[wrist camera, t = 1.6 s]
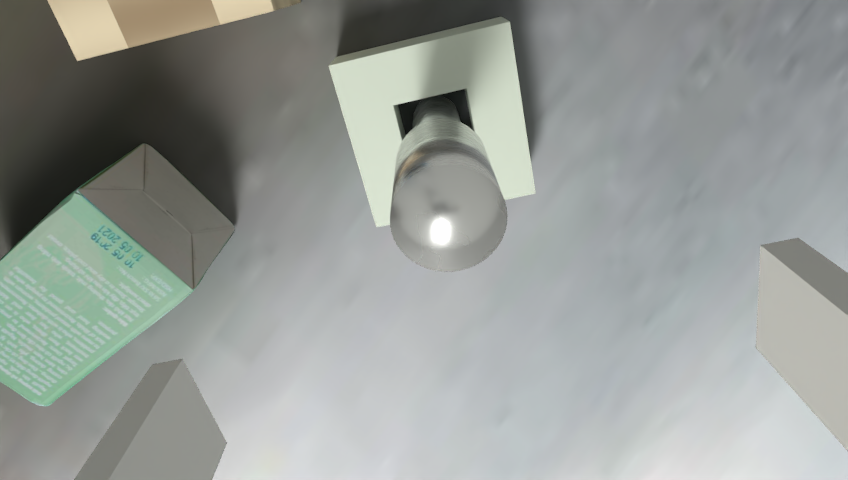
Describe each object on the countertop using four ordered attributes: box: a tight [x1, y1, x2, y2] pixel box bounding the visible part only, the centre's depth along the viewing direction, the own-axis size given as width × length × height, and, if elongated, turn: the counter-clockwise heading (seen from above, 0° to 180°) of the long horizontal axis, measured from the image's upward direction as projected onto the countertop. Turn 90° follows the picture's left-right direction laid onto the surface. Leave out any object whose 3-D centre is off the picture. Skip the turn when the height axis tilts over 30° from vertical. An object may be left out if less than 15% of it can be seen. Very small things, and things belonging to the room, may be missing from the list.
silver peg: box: [390, 96, 507, 272], centre depth 25 cm, size 4×4×14 cm
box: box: [0, 144, 235, 406], centre depth 32 cm, size 7×14×8 cm, turn 129°
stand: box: [329, 17, 535, 227], centre depth 30 cm, size 9×9×3 cm
